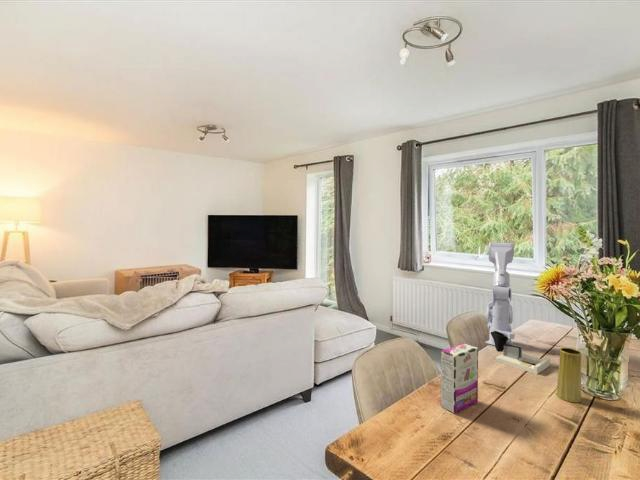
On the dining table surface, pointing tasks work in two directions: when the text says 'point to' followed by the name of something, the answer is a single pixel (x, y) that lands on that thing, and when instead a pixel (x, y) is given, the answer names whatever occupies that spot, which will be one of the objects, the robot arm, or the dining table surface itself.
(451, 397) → the candy bar box
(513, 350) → the clip
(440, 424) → the dining table surface
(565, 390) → the vase
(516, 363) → the frame
